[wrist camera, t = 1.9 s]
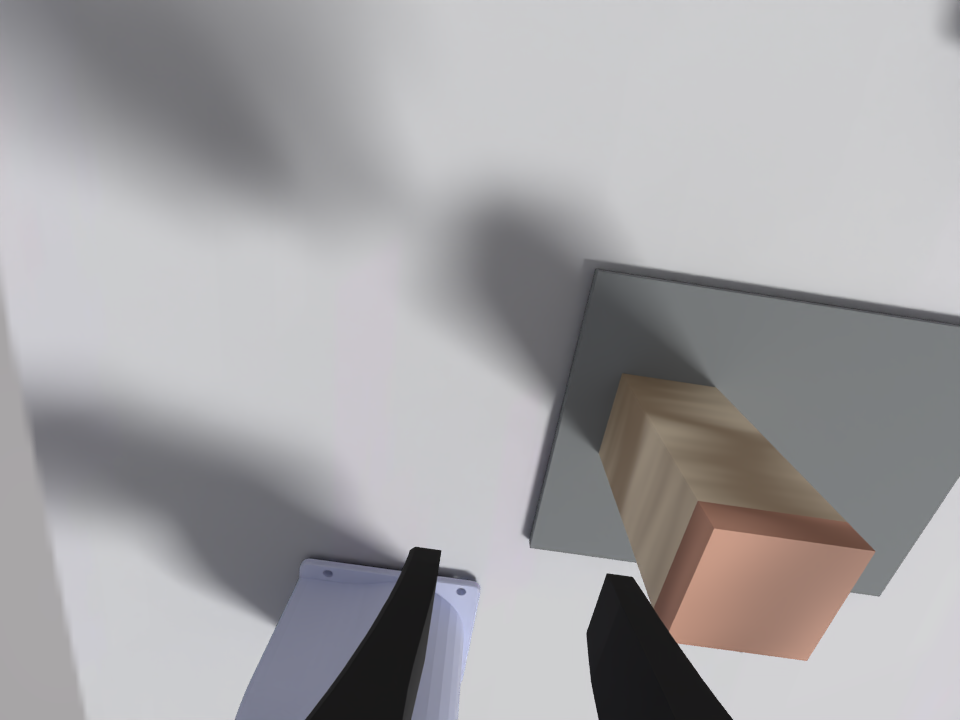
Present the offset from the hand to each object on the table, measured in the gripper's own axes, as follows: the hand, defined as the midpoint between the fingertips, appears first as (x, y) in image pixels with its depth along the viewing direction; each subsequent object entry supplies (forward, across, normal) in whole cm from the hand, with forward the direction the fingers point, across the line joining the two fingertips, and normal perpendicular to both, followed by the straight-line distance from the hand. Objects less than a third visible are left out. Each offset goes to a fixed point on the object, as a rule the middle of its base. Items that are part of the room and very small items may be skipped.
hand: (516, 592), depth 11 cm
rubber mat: (+10, -12, +1) cm, 16 cm away
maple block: (+10, -6, 0) cm, 12 cm away
